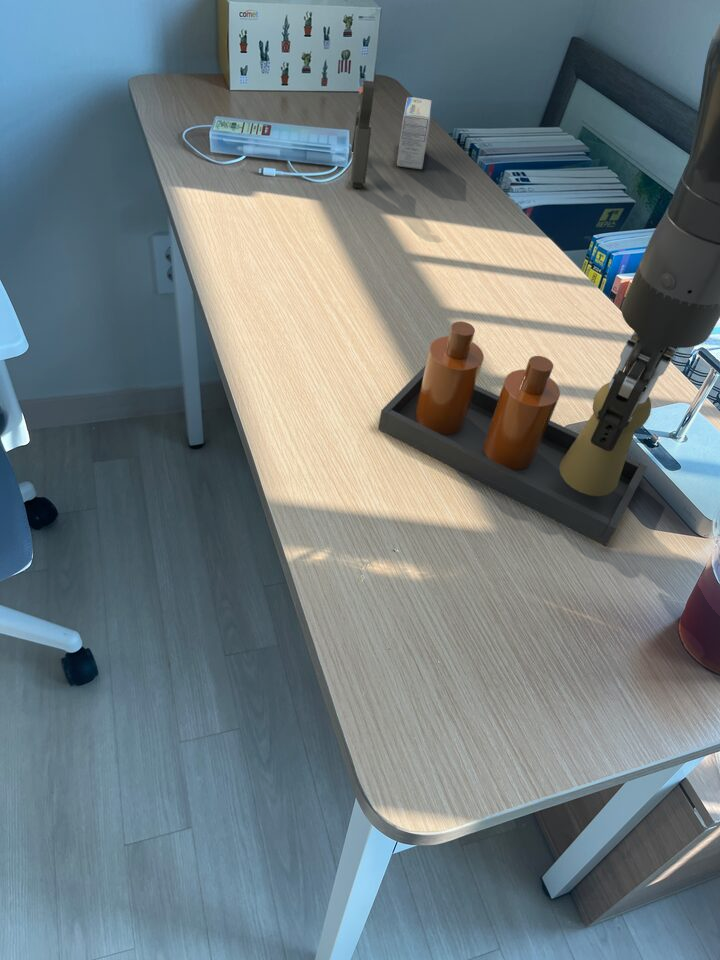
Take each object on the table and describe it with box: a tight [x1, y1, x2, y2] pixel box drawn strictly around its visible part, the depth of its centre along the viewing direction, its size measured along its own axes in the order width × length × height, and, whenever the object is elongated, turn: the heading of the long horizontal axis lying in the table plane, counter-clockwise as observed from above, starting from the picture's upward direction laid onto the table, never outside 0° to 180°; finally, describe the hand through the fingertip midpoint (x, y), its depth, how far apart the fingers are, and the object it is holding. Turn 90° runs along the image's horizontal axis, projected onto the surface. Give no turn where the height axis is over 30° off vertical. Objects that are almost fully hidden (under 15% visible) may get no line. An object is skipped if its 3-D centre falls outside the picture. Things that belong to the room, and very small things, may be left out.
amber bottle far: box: [415, 321, 484, 434], centre depth 79 cm, size 6×6×12 cm
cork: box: [559, 382, 652, 496], centre depth 73 cm, size 6×6×11 cm
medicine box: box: [396, 96, 433, 170], centre depth 127 cm, size 8×4×9 cm, turn 174°
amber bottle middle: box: [483, 355, 561, 470], centre depth 77 cm, size 6×6×12 cm
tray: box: [377, 364, 648, 547], centre depth 81 cm, size 27×11×3 cm, turn 58°
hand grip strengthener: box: [350, 80, 375, 189], centre depth 119 cm, size 2×12×15 cm, turn 1°
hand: (611, 428), depth 73 cm, fingers closed on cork, 5 cm apart
